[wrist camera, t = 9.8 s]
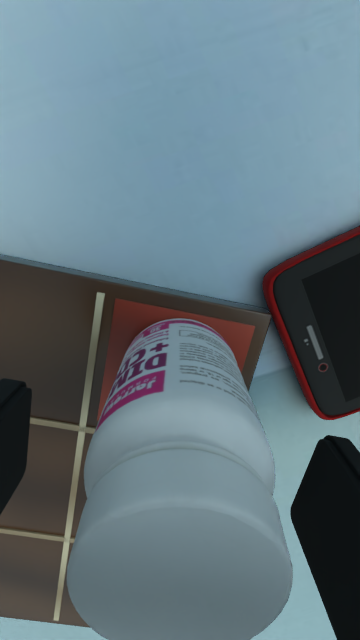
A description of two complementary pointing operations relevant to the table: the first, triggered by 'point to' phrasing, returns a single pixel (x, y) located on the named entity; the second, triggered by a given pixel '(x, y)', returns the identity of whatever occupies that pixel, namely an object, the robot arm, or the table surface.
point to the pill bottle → (179, 499)
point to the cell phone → (321, 322)
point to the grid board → (77, 404)
